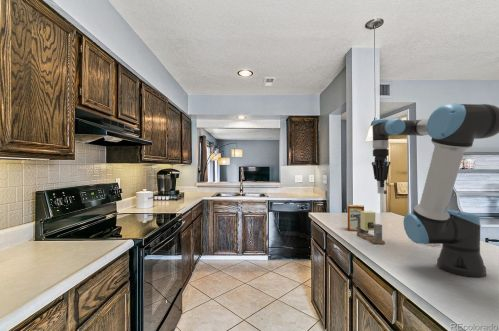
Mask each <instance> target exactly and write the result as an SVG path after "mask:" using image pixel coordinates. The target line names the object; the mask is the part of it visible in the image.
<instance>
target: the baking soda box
mask: <svg viewBox="0 0 499 331" xmlns="http://www.w3.org/2000/svg"><path fill="white" fill-rule="evenodd" d="M360 211H365V206H364V205H362V204H347V231H348V232H355V233H358V216H360Z"/></svg>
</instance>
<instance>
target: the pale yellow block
mask: <svg viewBox="0 0 499 331" xmlns="http://www.w3.org/2000/svg"><path fill="white" fill-rule="evenodd" d="M368 222H369V223H371V224H373V225H374V224H376V211H375V212H374V211H372V210H364V211H360V228H361V229H363V230H365V231H368V232H369V231H374V228H371V227H369V226H368Z"/></svg>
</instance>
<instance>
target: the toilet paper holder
mask: <svg viewBox="0 0 499 331" xmlns="http://www.w3.org/2000/svg"><path fill="white" fill-rule="evenodd" d="M368 226H369V227H371V228H374V230H373V234H371V233H369V231H365V230H363V229H361V228H360V216H358V232H356V236H358V237H359V238H361V239H363V240H365V241H367V242H369V243H371V244H373V245H385V244H386V242H385V240H383V224H380V223H375V224H374V225H373V224H371V223H369V222H368Z"/></svg>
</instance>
